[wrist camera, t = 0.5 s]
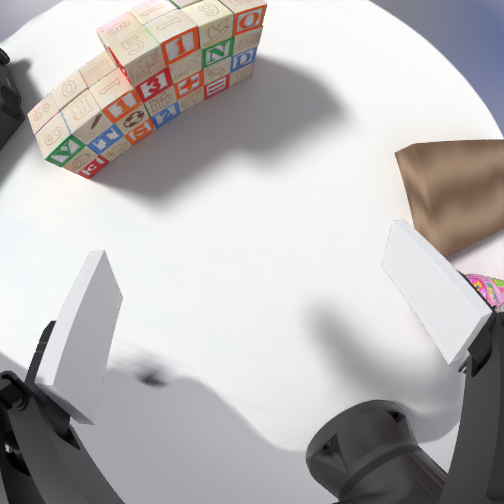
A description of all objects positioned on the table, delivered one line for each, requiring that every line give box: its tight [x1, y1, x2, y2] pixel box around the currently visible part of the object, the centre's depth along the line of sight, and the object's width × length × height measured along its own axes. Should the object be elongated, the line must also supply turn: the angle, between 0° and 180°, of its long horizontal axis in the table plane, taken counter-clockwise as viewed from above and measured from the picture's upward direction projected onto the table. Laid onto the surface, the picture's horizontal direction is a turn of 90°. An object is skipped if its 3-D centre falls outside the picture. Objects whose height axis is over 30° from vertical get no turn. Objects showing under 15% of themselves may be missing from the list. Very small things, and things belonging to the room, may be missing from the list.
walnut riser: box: [395, 140, 504, 257], centre depth 28 cm, size 13×25×4 cm, turn 105°
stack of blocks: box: [28, 0, 267, 179], centre depth 20 cm, size 21×6×12 cm, turn 124°
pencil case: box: [465, 274, 504, 313], centre depth 27 cm, size 21×9×9 cm, turn 80°
